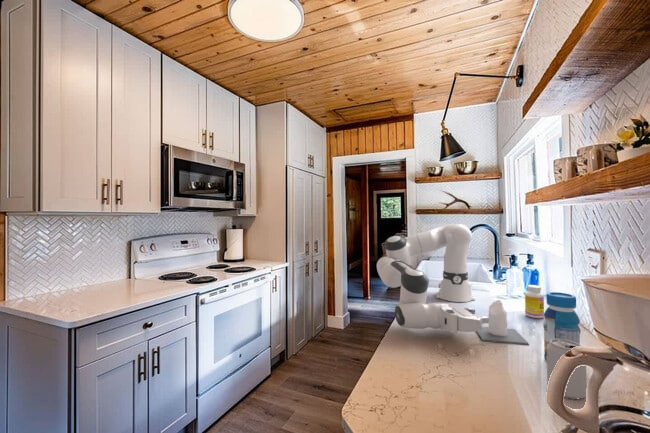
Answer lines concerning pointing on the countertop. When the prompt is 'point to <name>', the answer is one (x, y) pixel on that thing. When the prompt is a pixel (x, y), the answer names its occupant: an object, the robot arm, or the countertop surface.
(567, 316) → the beverage bottle
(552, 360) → the can
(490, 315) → the white piece
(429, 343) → the countertop surface
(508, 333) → the mat
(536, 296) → the supplement bottle
